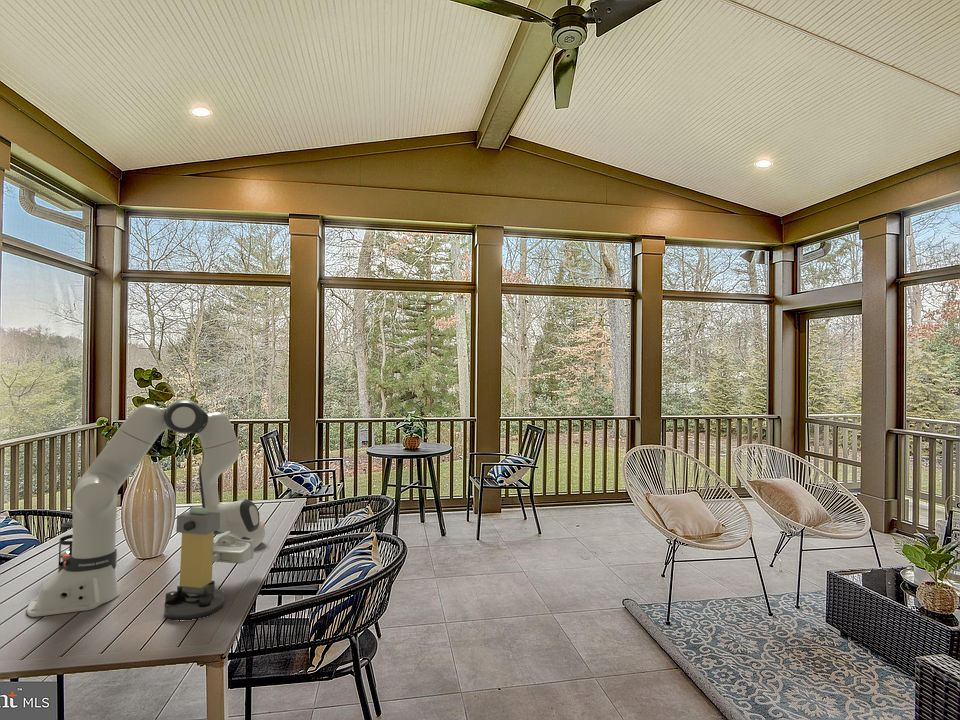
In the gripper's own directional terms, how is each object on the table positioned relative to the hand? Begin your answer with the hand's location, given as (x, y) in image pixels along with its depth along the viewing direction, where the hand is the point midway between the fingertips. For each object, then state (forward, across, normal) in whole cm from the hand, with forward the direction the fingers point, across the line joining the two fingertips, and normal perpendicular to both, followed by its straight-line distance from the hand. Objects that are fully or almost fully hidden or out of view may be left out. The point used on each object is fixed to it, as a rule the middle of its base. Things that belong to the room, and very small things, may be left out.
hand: (202, 561), depth 162 cm
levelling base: (+2, 0, +13) cm, 14 cm away
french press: (-15, -60, +13) cm, 64 cm away
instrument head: (+4, 0, +9) cm, 10 cm away
